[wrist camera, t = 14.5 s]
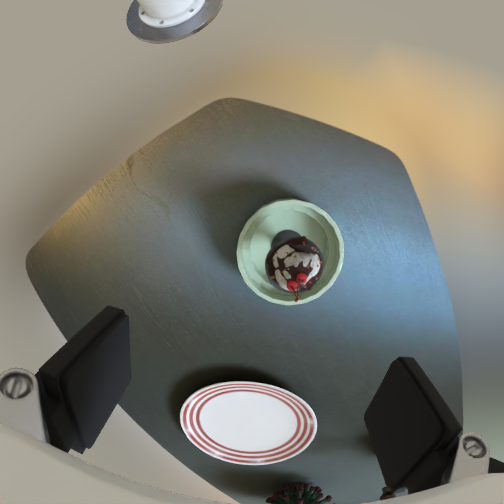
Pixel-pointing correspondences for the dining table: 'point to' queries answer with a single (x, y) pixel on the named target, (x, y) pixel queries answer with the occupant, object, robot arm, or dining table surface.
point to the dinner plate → (248, 422)
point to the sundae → (293, 263)
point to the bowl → (296, 219)
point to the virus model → (298, 495)
